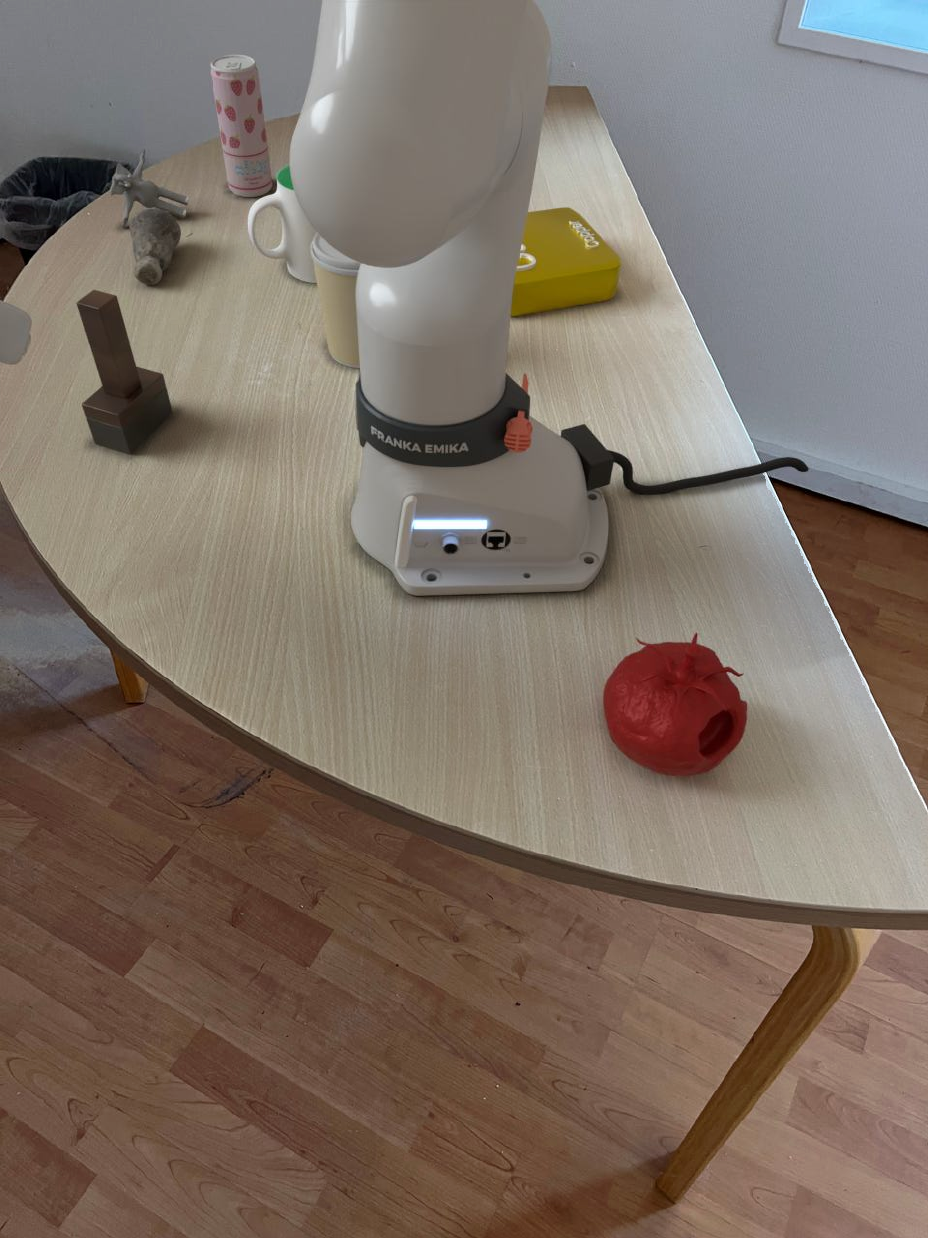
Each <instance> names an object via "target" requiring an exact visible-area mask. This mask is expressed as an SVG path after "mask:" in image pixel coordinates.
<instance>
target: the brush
mask: <svg viewBox="0 0 928 1238" xmlns="http://www.w3.org/2000/svg"><path fill="white" fill-rule="evenodd" d="M75 304H76V306H77V307H76V308H77V309H78V314H79V316H80V319H81V323H82V326H83V329H84V333H85V335H86V338H87V341H88V344H89V348H90V351H91V354H92V357H93V361H94V364H95V367H96V371H97V373H98V377H99V380H100V383H101V386H100V387H99V388H98V389H97V390H96V391H95V392H94V393H92V394H91V395H90V396H89V397H88V398H86V400H84V401H83V402H82V403H81V407H82V410H83V414H84V416H85V420H86V422H87V425H88V428H89V430H90V434H91V437H92V439H93V442H94V444H95V445H98V446H101V447H105V448H107V449H111V450H114V451H117V452H120V453H124V454H128V455H132V454H133V453H134V452H135V451H136V450H137V449H138V448H139V447H140V446H142V444H143V443H145V441H146V440H147V439H148V438H149V437H150V436H151V435H152V434H154V432H155V431H156V430H157V429H158V428H159V427H160V426H161V425H162V424H163V423H165V421H166V420H167V419H169V418H170V417H171V416H172V414H174V413H173V412H174V411H173V408H172V403H171V400H170V396H169V392H168V388H167V383H166V380H165V376H164V373H161V372H158V371H154V370H152V369H151V370H150V369H147V368H144V367H140V366H138V365H136V361H135V357H134V353H133V351H132V349H133V348H132V345H131V342H130V340H129V339H130V338H129V335H128V332H127V328H126V324H125V321H124V317H123V313H122V310H121V306H120V303H119V300H118V296H117V295H115V294H111V293H107V292H104V291H101V290H96V289H92V290H91V291H90V292H89V293H87V294H86V295H84V296H83V297H81V298H80V299H79V300H78V301H76V303H75Z"/></svg>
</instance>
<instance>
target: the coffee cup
mask: <svg viewBox="0 0 928 1238" xmlns="http://www.w3.org/2000/svg"><path fill="white" fill-rule="evenodd" d="M311 255H312V258H313V260H314V268H315V274H316V280H317V283H316V286H317V292H318V297H319V303H320V309H321V315H322V321H323V326H324V332H325V339H326V343H327V347H328V352H329V354H330V356H331V357H332V358H333V360H335V361H336V362H337V363H338V364H340V365H342V366H345V367H348V368H353V369H359V370H360V360H359V344H358V328H357V312H356V298H355V291H356V281H357V276H358V271H359V268H360V264H361V263H360V262H357V261H355V260H352V259H351V258H349V257H347V256H345V255H343V254H342V253H340V252H339V251H337V250H336V249H334V248H333V247H332V246H331V245H330V244H328V243H327V242H326V241H325V240H324V239H323V238H322V237H321V236H320V235H319V234H318V232H317V233H316V234H315V236H314V238H313V241H312V244H311Z"/></svg>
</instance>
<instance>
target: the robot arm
mask: <svg viewBox="0 0 928 1238" xmlns="http://www.w3.org/2000/svg"><path fill="white" fill-rule="evenodd" d="M319 14H320V15H319V23H318V29H317V36H316V37H317V38H316V45H315V50H314V51H315V52H314V56H313V57H314V58H313V64H312V69H311V73H310V80H309V84H308V88H307V91H306V94H305V98H304V102H303V105H302V108H301V109H300V110H301V111H300V113H299V116H298V120H297V122H296V125H295V127H294V131H293V133H292V137H291V140H290V147H289V159H288V160H289V162H288V163H289V164H288V165H290V174H291V180H292V184H293V188H294V192H295V195H296V197H297V200H298V202H299V204H300V207H301V209H302V210H303V212H304V214H305V216H306V217H307V219H308V221H309V222H310V223H311V225H312V226H313V228H314V229H315V230H316V231H317V232H318V234H319V235H320V236H321V237H322V238H323V239H324V240H325V241H326V242H327V243H328V244H330V245H331V246H332V247H333V248H334V249H336V250H337V251H339V252H340V253H342V254H343V255H345V256H347V257H349V258H351V259H352V260H355V261H357V262H360V263H361V264H360V268H359V271H358V276H357V281H356V291H355V298H356V312H357V328H358V344H359V360H360V369H359V375H358V379H357V381H356V383H355V391H354V411H355V423H356V430H357V432H358V439H359V441H358V442H359V445H360V447H361V461H360V462H361V464H360V473H359V479H358V486H357V490H356V495H355V497H354V501H353V504H352V507H351V511H350V512H351V513H350V525H351V530H352V533H353V535H354V537H355V539H356V541H357V543H358V544H359V546H360V547H361V548H362V549H363V551H365V552H366V553H367V555H369V556H370V557H371V558H373V559H374V560H376V561H377V562H378V563H380V564H382V565H383V566H384V567H386V568H387V569H388V570H389V571H390V572H391V573H392V574H393V577H394V578H395V580H396V581H397V583H398V585H399V586H400V587H401V589H402V590H403V591H404V592H406V593H407V594H409V595H411V596H417V597H419V596H421V597H422V596H423V597H425V596H456V595H457V596H458V595H459V596H460V595H484V594H485V595H486V594H487V595H488V594H490V595H491V594H519V593H520V594H521V593H522V594H525V593H553V592H555V593H556V592H558V593H559V592H577V591H583V590H584V589H586V588H587V587H588V586H589V585H590V584H592V582H594V580H595V579H596V577H597V576H598V574H600V571H601V569H602V568H603V565H604V562H605V559H606V554H607V549H608V541H609V511H608V508H607V503H606V500H605V497H604V495H603V493H602V491H601V489H600V488H603V487H606V486H609V485H610V484H611V480H612V473H613V468H614V464H617V465H618V466H619V467H620V468H621V470H622V483H623V484H624V487H625V488H626V489H627V490H628V491H630V492H632V493H634V494H637V495H640V496H654V495H655V496H656V495H664V494H669V493H673V492H678V491H682V490H687V489H692V488H700V487H707V486H712V485H716V484H722V483H725V482H729V481H735V480H739V479H743V478H751V477H754V476H758V475H762V474H765V473H768V472H771V471H775V470H778V469H782V468H793V469H795V470H796V471H798V472H800V473H807V472H809V467H808V465H807V464H806V463H805V462H804V461H803V460H801V459H800V458H797V457H793V456H783V457H778V458H774V459H771V460H768V461H765V462H761V463H758V464H754V465H750V466H744V467H740V468H735V469H730V470H725V471H721V472H717V473H712V474H706V475H701V476H693V477H688V478H687V477H686V478H682V479H677V480H673V481H669V482H668V481H667V482H664V483H660V484H652V485H649V484H648V485H647V484H640V483H638V482H636V481H635V480H634V469H633V464H632V462H631V460H630V459H628V457H627V456H626V455H623V454H621V453H619V452H617V451H614V450H611V449H607V448H606V447H605V446H604V445H603V444H602V442H601V441H600V440H599V439H598V438H597V436H596V435H595V434H594V433H593V431H592V430H591V429H590V428H589V427H588V426H587V425H586V424H585V423H582V424H578V425H575V426H571V427H568V428H564V429H561V431H560V435H559V434H558V433H557V432H555V431H553V430H552V429H551V428H548V426H546V425H544V424H543V423H542V422H540V421H539V420H537V419H535V418H534V417H532V416H531V415H530V413H531V396H530V394H529V393H528V392H529V379H528V375H527V373H525V372H524V373H523V374H522V375H523V377H522V384H521V386H520V384H518V383H517V381H515V380H514V379H513V377H511V376H510V375H509V374H508V373H507V365H508V353H509V341H510V328H511V317H512V316H511V304H512V295H513V287H514V281H515V275H516V269H517V264H518V260H519V255H520V250H521V245H522V240H523V235H524V230H525V224H526V219H527V214H528V212H529V209H530V208H529V207H530V202H531V198H532V192H533V191H532V190H533V184H534V179H535V173H536V167H537V160H538V156H539V155H538V154H539V147H540V141H541V135H542V128H543V121H544V115H545V114H544V113H545V109H546V102H547V96H548V91H549V87H550V82H551V74H552V66H553V47H552V41H551V35H550V32H549V31H550V30H549V28H548V25H547V22H546V19H545V18H544V15H543V13H542V11H541V9H540V8H539V6H538V4H537V3H536V2H535V0H322V1H321V6H320V13H319ZM32 323H33V320H32V317H31V315H30V314H29V313H28V312H27V311H25V310H24V309H22V308H20V307H18V306H15V305H14V304H11V303H9V302H7V301H4V300H1V299H0V363H2V364H6V365H9V366H12V365H18V364H19V363H20V362H21V360H22V358H23V357H25V355H26V354H27V353H28V350H29V347H30V344H31V340H32V339H31V338H32V336H31V330H32V325H33V324H32Z"/></svg>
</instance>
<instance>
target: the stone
mask: <svg viewBox="0 0 928 1238" xmlns="http://www.w3.org/2000/svg"><path fill="white" fill-rule="evenodd" d="M128 227H129V233H130V236H131V239H132V241H131V242H132V249H133V255H134V259H135V262H136V263H135V266H134V270H133V271H134V272H133V274H134V278H135V279H136V280H137V281H138V282H139V283H141V284H143V285H147V286H154V285H157V284H158V283H160V281H161V280H162V279H163V278H162V277H163V271H164V270H165V269H166V268H168V267H169V265H170V264H171V261H172V257H173V254H174V253H173V252H174V250H175V248H176V246H178V244H179V242H180V240H181V236H182V229H181V227H180V224H179V223H178V220H177V219H176V218H175V217H174V216H172V215H171V213H170V212H168V211H165V210H162V209H159V208H146V209H143V210H140V211H138V212H137V213H136V214H135V215H134V216H133V217H132V219H131V221H130V223H129V226H128Z"/></svg>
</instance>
